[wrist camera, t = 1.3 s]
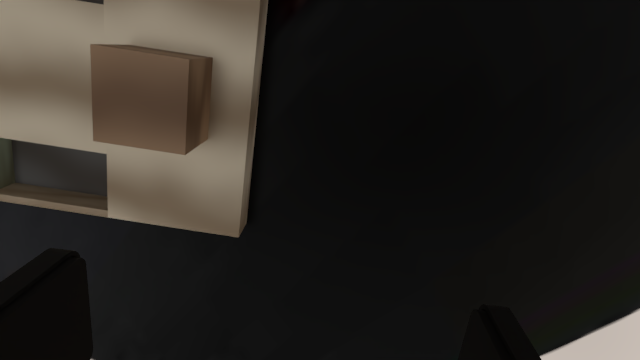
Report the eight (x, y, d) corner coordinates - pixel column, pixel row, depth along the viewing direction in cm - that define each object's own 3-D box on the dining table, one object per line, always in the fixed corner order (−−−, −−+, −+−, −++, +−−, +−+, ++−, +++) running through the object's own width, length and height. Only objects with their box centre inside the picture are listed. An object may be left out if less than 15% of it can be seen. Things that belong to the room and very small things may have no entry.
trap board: (-156, -116, 24) (-261, -150, 20) (272, -49, 24) (258, -70, 20) (-102, 169, 30) (-175, 189, 26) (246, 222, 30) (231, 251, 26)
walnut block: (129, 44, 24) (90, 44, 20) (212, 57, 24) (189, 59, 20) (129, 127, 26) (93, 141, 22) (207, 139, 26) (185, 155, 22)
